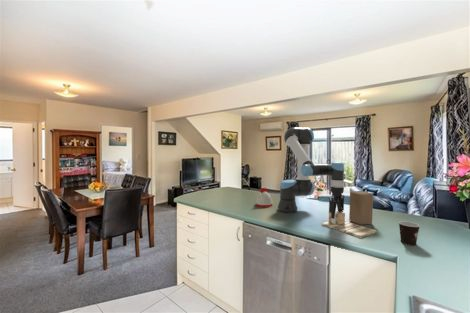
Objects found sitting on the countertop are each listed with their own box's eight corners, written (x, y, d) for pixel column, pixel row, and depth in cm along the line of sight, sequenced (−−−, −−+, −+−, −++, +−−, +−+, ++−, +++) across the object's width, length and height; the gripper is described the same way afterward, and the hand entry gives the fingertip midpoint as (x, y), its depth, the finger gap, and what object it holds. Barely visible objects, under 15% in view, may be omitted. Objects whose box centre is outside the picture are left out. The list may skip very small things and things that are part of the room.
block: (360, 225, 148) (361, 194, 147) (348, 220, 158) (349, 191, 157) (372, 224, 151) (373, 193, 150) (360, 219, 160) (361, 190, 159)
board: (322, 225, 148) (322, 223, 148) (336, 220, 157) (337, 218, 157) (361, 238, 128) (361, 236, 128) (376, 232, 136) (376, 230, 136)
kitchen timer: (253, 203, 202) (253, 186, 201) (266, 202, 207) (266, 185, 207) (261, 207, 189) (261, 189, 188) (275, 206, 195) (275, 188, 194)
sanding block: (328, 222, 151) (328, 211, 150) (333, 220, 153) (333, 210, 153) (340, 225, 144) (340, 214, 144) (344, 224, 147) (345, 213, 146)
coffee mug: (409, 239, 126) (410, 221, 126) (423, 246, 118) (424, 226, 117) (388, 239, 126) (389, 221, 125) (400, 246, 117) (401, 227, 117)
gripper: (333, 188, 140) (333, 227, 141) (350, 186, 150) (349, 221, 151) (323, 186, 146) (322, 223, 147) (339, 184, 156) (339, 218, 157)
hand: (336, 222), depth 149 cm, fingers closed on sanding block, 5 cm apart
